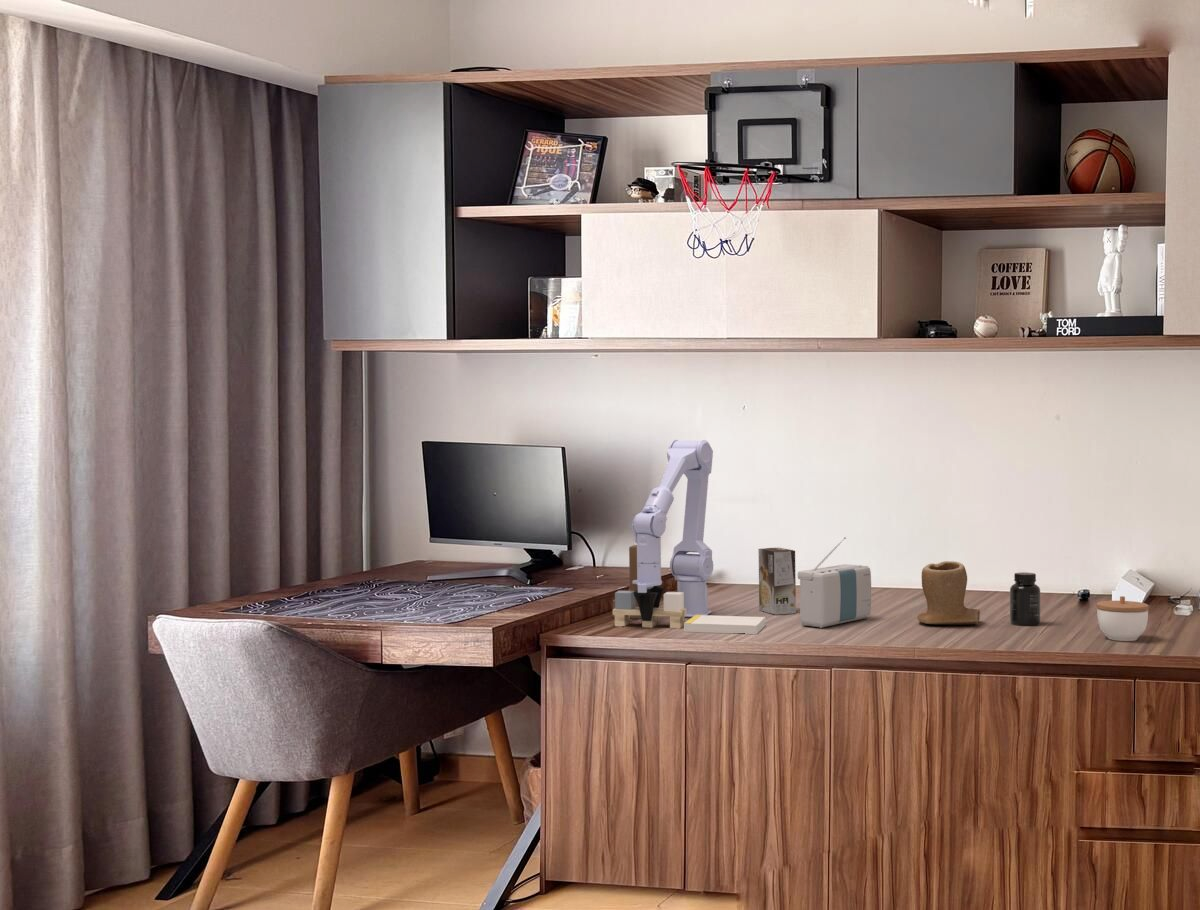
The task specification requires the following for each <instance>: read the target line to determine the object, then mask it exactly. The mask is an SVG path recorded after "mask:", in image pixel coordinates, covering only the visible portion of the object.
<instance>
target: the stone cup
mask: <svg viewBox="0 0 1200 910" xmlns="http://www.w3.org/2000/svg"><path fill="white" fill-rule="evenodd" d="M967 586H968V573H967V570H966V567H965V565H964V564H963V563H961V562H959V561H954V560H952V561H948V560H947V561H946V560H945V561H941V562H939V563H928V564H926V565H925V566H924V567H923V568H922V569H921V588H922V591H923V594H924V597H925V599H926V605H927V606H926V607H927V610H926V611H925V612H922V613H919V614H918V615H917V616H916V619H917V621H919V622H921V623H923V624H928V625H940V626H941V625H944V626H945V625H946V626H947V625H949V626H950V625H951V626H956V625H957V626H962V625H963V626H964V625H966V626H967V625H978V624H979V622H980V614H981V610H980V608H979V609H978V608H967V607H966V606H965V595H966V591H967Z"/></svg>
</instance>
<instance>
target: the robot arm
mask: <svg viewBox="0 0 1200 910" xmlns="http://www.w3.org/2000/svg"><path fill="white" fill-rule="evenodd" d="M713 454H714V450H713V448H712V447H711V444H710V443H709V441H708V440H705V439H702V440H678V439H673V440H672V441H671V442H670V444H669V446H668V449H667V451H666V456H667V461H668V462H667V464H666V467H665V469H664V472H663V476H662V478H661V481H660V483H659V486H657V487H654V488H653V489H652V490H651V492H650V494H649V496H648V498H647V500H646V502H645V504H644V506H643V508H642V509H641V510H642V511H641V512H638V513H637V514H636V515H635V516H634V517H633V519H632V524H631V530H632V533H633V536H634V542H635V544H636V545H637V580H633V581H632V583H633V584H637V585H638V591H634V592H633V594H634V596H635V598H636V600H637V603H638V605H639V609H640V614H641V618H642V619H641V621H651V619H652V614H653V608H660V604H661V599H662V597H663V595H664V593H665V589H666V588H665V586H661V585H662V584H663V580H662V570H661V569H662V565H661V564H662V557H661V556H662V553H661V551H662V549H661V548H662V547H661V542H662V540H661V539H662V538H661V537H662V536H663V534H664V533H665V531H666V527H667V525H666V523H667V520H668V517H667V515H668V513H669V511H670V508H671V506H672V504H673V502H674V500H675V498H674V495H673V491H674V490H675V488H676V487H677V485H678V483H679V482H680V480H681V479H682V476H683V475H684V476H685V477H686V479H687V483H686V492H685V493H686V494H685V507H684V515H683V517H684V518H683V528H682V529H683V530H682V540H681V541H680V542H679V543H677V544H676V545H675V546H674V547H673V551H672V556H671V558H670V561H669V570H670V572H671V574H672V576H673V577H674V580H675V581H677V582H676V583H677V591H676V592H684V609H686V614H685V615H684V618H692V617H693V616H695V615H709V614H711V613H712V610H710V609H709V605H708V602H709V599H708V598H709V597H708V596H709V593H708V591H709V589H708V585H707V581H709V578H710V577H711V576H712V574H713V572H714V561H713V550H712V549H711V548H710V546H708V545H707V544H706V543H705V542H704V534H705V522H706V510H707V500H708V499H707V498H708V489H709V475H710V474H711V473H712V469H713V468H712V466H713V459H714V458H713V457H714V455H713Z"/></svg>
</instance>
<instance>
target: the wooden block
mask: <svg viewBox="0 0 1200 910" xmlns="http://www.w3.org/2000/svg"><path fill="white" fill-rule="evenodd" d="M628 552H629V553H628V555H629V557H628V558H629V559H628V562H629V564H628V567H629V568H628V569H629V572H628V573H629V575H628V576H629V587H628V590H627V591H638V585H637V584H633V583H632V581H633V580H637V544H634V545H633V544H632V545H630V546H629V548H628ZM635 607H639V605H638V603H637V600H636V598H635ZM613 609H615V598H614V599H613V600H612V610H613ZM612 618H614V619H615V615H613V614H612ZM630 619H634V620H636V619H638V620H642V618H641V615H630Z"/></svg>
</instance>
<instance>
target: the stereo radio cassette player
mask: <svg viewBox="0 0 1200 910" xmlns="http://www.w3.org/2000/svg"><path fill="white" fill-rule="evenodd" d="M846 539H847V537H846V536H844V537H843V539H842V540H841V541H840V542H838V543H837V545H836V546H835V547H833V549H832V550H830V551H829V552H828V553H827V555H826V556H824V558H822V559H821V561H820V562H819V563H818V564H817V565H816V566H815V567H814V568H812V569H806V570H800V571H797V579H798V580H799V603H800V605H799V607H800V609H799V611H800V612H799V613H800V614H799V615H800V616H799V617H800V618H799V620H800V622H801V625H802V626H804V627H806V626H808V627H815V628H819V629H823V628H826V627H831V626H835V625H839V624H843V623H847V622H848V623H849V622H854V621H858V620H865V619H867V617H868V616H871V613H872V572H871V568H870V567H869V566H868V565H860V564H847V563H846V564H837V565H831V566H826V567H820V566H821V565H822V564H823V563H824V562H825V561H826V560H827V559H828V557H830V556H831V554H833V552H834V551H836V549H837V547H839V546H840V545H841V543H842V542H843V541H844V540H846Z"/></svg>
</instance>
